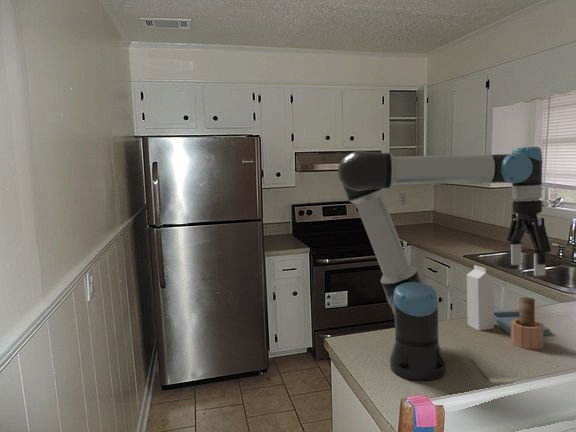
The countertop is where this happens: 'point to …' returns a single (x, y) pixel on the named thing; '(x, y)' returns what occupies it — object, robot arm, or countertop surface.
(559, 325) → the countertop surface
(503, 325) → the tray
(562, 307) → the countertop surface
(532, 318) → the baguette
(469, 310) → the milk
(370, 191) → the robot arm
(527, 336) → the cup
